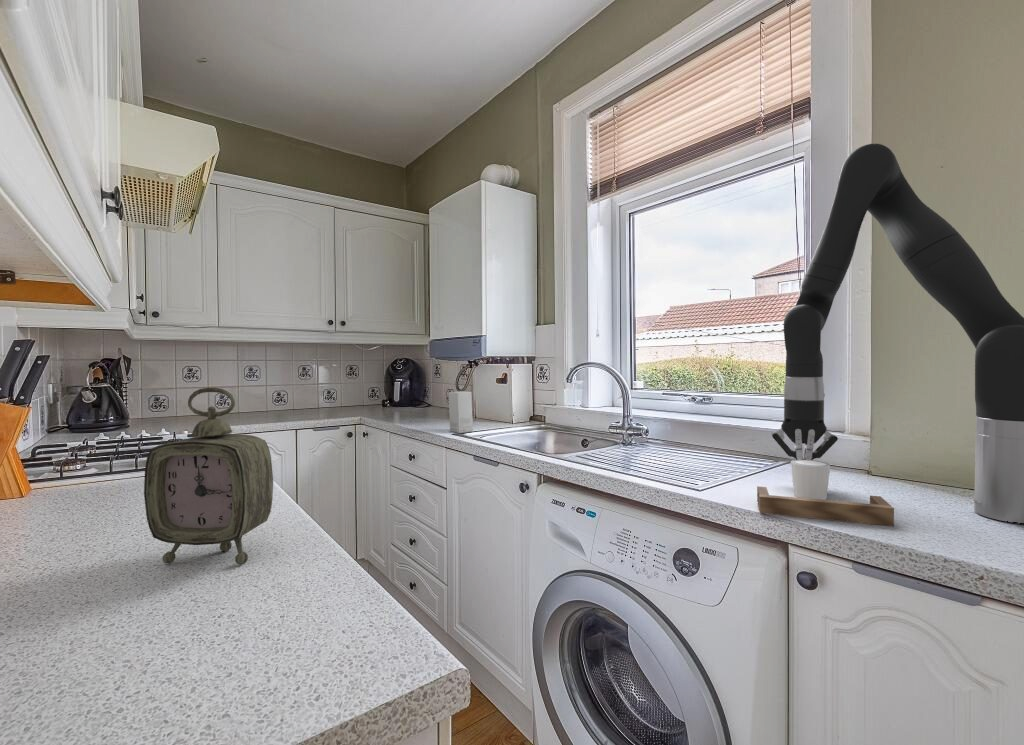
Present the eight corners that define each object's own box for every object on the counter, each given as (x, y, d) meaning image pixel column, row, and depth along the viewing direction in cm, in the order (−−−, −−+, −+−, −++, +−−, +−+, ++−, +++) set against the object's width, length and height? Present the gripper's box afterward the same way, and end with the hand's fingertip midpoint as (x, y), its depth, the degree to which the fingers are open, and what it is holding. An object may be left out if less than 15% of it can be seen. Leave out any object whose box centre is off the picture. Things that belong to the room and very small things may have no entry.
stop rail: (880, 512, 90) (880, 496, 90) (893, 526, 83) (894, 508, 83) (757, 501, 98) (757, 486, 97) (759, 512, 91) (759, 496, 90)
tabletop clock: (146, 569, 69) (140, 390, 69) (191, 544, 78) (186, 386, 78) (247, 570, 69) (242, 389, 68) (281, 545, 78) (276, 385, 77)
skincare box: (473, 432, 192) (472, 391, 191) (457, 433, 188) (457, 392, 188) (463, 429, 199) (463, 390, 198) (448, 431, 196) (447, 391, 195)
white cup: (836, 502, 96) (836, 466, 96) (797, 501, 98) (797, 465, 97) (821, 493, 103) (822, 459, 103) (785, 491, 104) (785, 458, 104)
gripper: (835, 396, 109) (835, 475, 110) (768, 395, 115) (768, 470, 115) (843, 399, 102) (842, 483, 103) (771, 398, 108) (770, 477, 108)
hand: (803, 476), depth 109 cm, fingers closed
